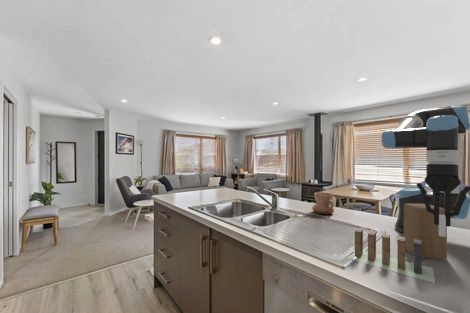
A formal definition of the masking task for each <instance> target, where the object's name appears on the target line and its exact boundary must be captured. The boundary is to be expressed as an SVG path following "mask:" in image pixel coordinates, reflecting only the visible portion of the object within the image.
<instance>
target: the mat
mask: <svg viewBox="0 0 470 313" xmlns="http://www.w3.org/2000/svg"><path fill="white" fill-rule="evenodd" d="M350 251H353V252H355V247H350V249H349V250H348V251H347V253H348V252H350ZM363 251H364V252H363V254H362V256H361V258H358V257H357V258H356V259H354V260H353V261H354V262H358V263H362V264H367V265H369V266H373V267H376V268H380V269H384V270H387V271H391V272H395V273H398V274H401V275H404V276H407V277H412V278H416V279H419V280H422V281H426V282H430V283H433V284H436V280H435V273H434V268H433V267H429V266H426V265H422V275H421V274H417V273H414V262H409V261H406V260H405V270H402V269H398V258H395V257H394V258H393V257H390V263H389V266H387V265H384V264H382V254H377V253H376V258H375V261H374V262H373V261H369V260H368V251H365V250H363Z"/></svg>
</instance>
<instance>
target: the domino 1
mask: <svg viewBox="0 0 470 313" xmlns="http://www.w3.org/2000/svg"><path fill="white" fill-rule="evenodd" d="M367 252H368V260H369V261H373V262H374V261H375V258H376V254H377V231H373V230H369V231H368V233H367Z"/></svg>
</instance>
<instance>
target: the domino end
mask: <svg viewBox="0 0 470 313" xmlns="http://www.w3.org/2000/svg"><path fill="white" fill-rule="evenodd" d="M363 240H364V229H363V228H359V227H358V228H356V229H355V230H354V249H355V256H356V257H358V258H361V256H362V254H363V251H364V241H363Z"/></svg>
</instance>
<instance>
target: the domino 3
mask: <svg viewBox="0 0 470 313" xmlns="http://www.w3.org/2000/svg"><path fill="white" fill-rule="evenodd" d="M396 244H397V259H398V269H402V270H405V261H406V249H405V237H404V236H401V235H400V236H399V235H398V237H397V243H396Z"/></svg>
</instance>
